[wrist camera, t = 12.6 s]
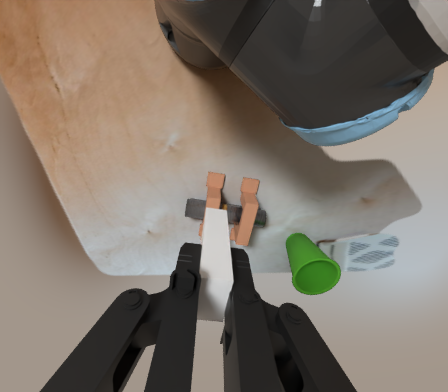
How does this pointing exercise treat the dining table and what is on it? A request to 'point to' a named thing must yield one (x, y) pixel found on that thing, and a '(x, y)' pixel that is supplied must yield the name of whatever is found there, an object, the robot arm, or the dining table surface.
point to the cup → (310, 266)
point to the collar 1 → (213, 193)
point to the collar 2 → (246, 212)
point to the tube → (234, 212)
